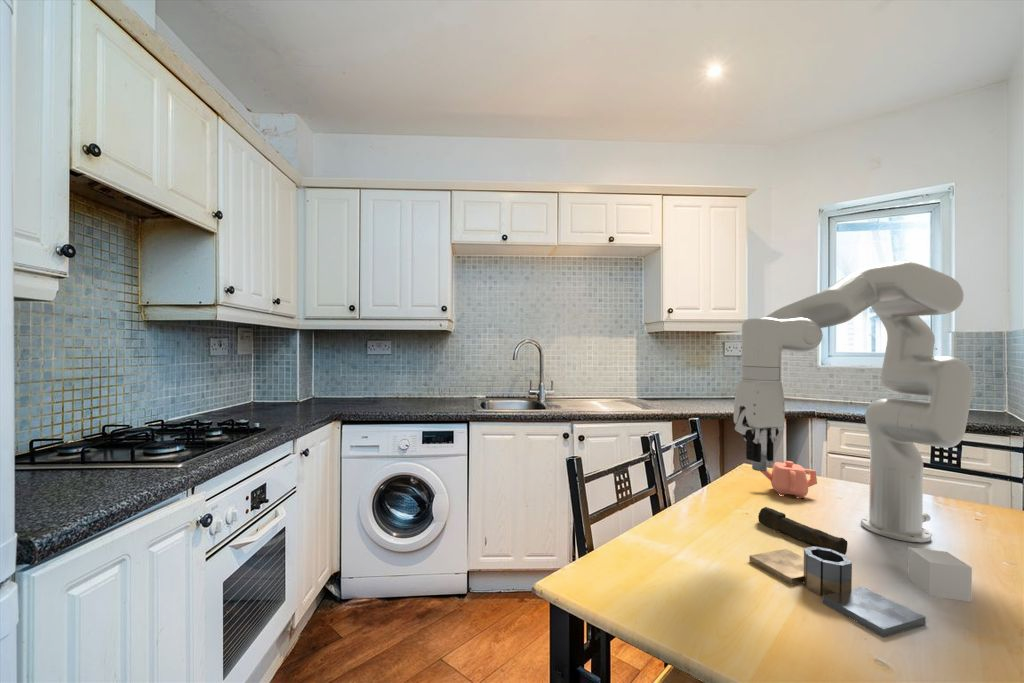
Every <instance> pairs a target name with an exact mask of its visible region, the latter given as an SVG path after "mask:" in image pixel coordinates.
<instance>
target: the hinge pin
mask: <svg viewBox="0 0 1024 683" xmlns="http://www.w3.org/2000/svg"><path fill="white" fill-rule="evenodd" d="M767 434H768V428H762V429H760V433H759V442H758V443H760V444H761V462H755V461H752V460H751V469H752V470H753V471H757V472H760V471H767V470H768V460H767Z"/></svg>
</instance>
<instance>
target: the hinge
mask: <svg viewBox="0 0 1024 683" xmlns="http://www.w3.org/2000/svg"><path fill="white" fill-rule="evenodd" d="M748 557H749V562H750V563H751V564H753V565H755V566H757V567H759V568H760V569H762V570H764V571H765V572H768V573H769V574H771V575H773V577H774V576H775V577H776V578H778V579H780V580H781V581H783V582H785V583H787V584H789V585H790V586H795V585H799V583H800V584H804V586H806V587H805V588H806V590H809V591H810V590H811V592H812V591H813V593H815V594H816V595H818V596H819V597H821V596H822V604H824V605H825V606H828V607H829V608H832V609H833V610H834V609H835V611H836V612H838V613H839V614H841V613H842V615H843V616H846V617H847V618H849V617H850V618H851V619H850V618H849V619H850V620H852V619H853V620H852V621H854V620H855V621H854V622H856V621H857V622H858V623H857V622H856V623H857V624H859V625H861V626H863V627H864V626H865V628H866V629H868V630H870V631H872V632H873V633H875V634H877V635H879V636H880V637H881V638H885V637H889V636H892V635H896V634H899V633H903V632H906V631H910V630H912V629H916V628H920V627H922V626H925V625H926V624H927V621H926V620H927V617H926V616H925V615H922V614H920V613H919V612H916V611H914V610H912V609H911V608H908V607H906V606H904V605H902V604H900V603H898V602H896V601H894V600H892V599H891V598H890V599H889V598H888V597H886V596H884V595H882V594H879V593H878V592H876V591H874V590H871V589H869V588H867V587H865V586H863V585H862V586H858V587H854V588H852V581H853V580H852V579H853V574H852V573H853V562H852V561H851V559H850V557H849V556H847V555H846V554H845V555H843V554H841V553H839V552H837V551H834V550H831V549H826V548H821V547H817V546H815V545H812V546H808V547H804V548H803V556H801V555H799V554H797V553H795V552H793V551H791V550H789V549H787V548H782V549H779V550H772V551H767V552H762V553H756V554H750V555H749V556H748ZM803 582H804V583H803ZM794 584H795V585H794Z"/></svg>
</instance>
